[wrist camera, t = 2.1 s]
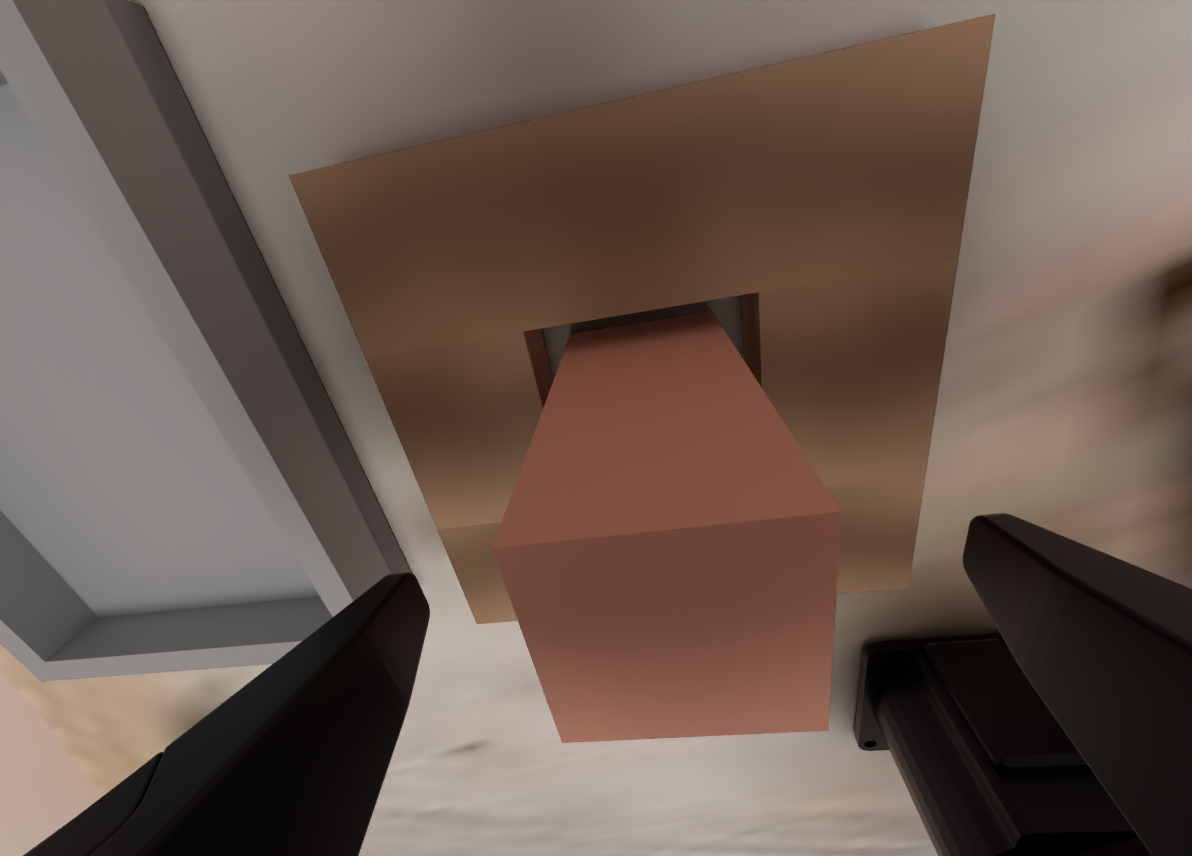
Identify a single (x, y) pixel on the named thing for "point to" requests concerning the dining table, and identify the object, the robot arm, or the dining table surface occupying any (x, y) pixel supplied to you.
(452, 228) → the socket block
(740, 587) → the brown tall block
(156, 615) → the tray
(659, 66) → the dining table surface
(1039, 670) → the robot arm
